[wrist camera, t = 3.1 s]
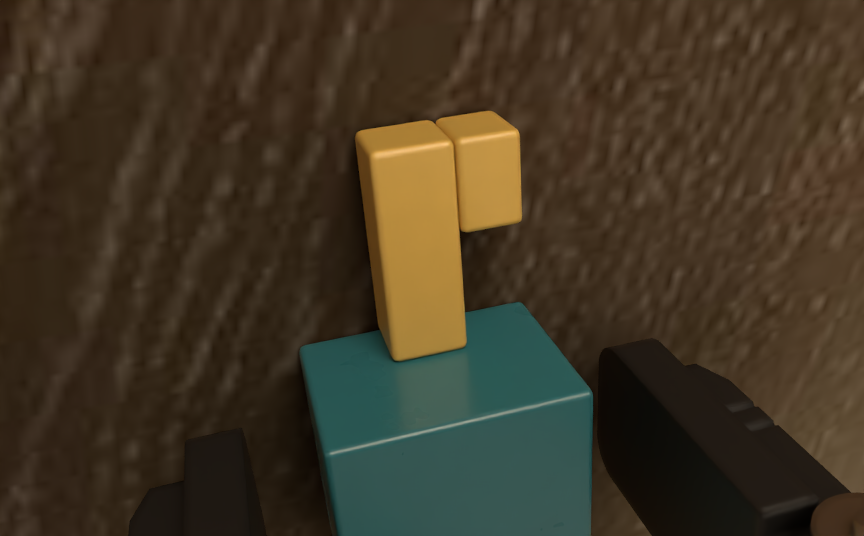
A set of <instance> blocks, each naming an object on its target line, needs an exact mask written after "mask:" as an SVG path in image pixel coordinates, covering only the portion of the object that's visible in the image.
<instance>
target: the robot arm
mask: <svg viewBox="0 0 864 536" xmlns="http://www.w3.org/2000/svg"><path fill="white" fill-rule="evenodd" d="M597 437H598V444H599V449H600V453H601V457H602V460H603V463H604V465H605V467H606V470H607V472H608V473H609V475H610V477H611V478H612V480H613V481H614V483H615V484H616V485H617V487H618V488H619V490H620V491H621V493H622V494H623V495H624V497H625V498H626V500H627V501H628V502H629V504H630V505H631V507H632V508H633V510H634V511H635V512H636V514H637V515H638V517H639V518H640V519H641V521H642V522H643V524H644V525H645V527H646V528H647V529H648V531H649V532H650V534H651V535H652V536H864V493H851V492H850V491H849V490H848V489H847V488H846V487H845V486H844V485H842V484H841V483H840V482H839V481H838V480H837V479H836V478H835V477H834V476H833V475H832V474H831V473H829V472H828V471H827V470H826V469H825V468H824V467H823V466H822V465H821V464H820V463H819V462H818V461H816V460H815V459H814V458H813V457H812V456H811V455H810V454H809V453H808V452H807V451H806V450H805V449H803V448H802V447H801V446H800V445H799V444H798V443H797V442H796V441H795V440H794V439H793V438H792V437H790V436H789V435H788V434H787V433H786V432H785V431H784V430H783V429H782V428H781V427H780V426H779V425H777V426H775V425H774V423H773V420H772V419H771V418H770V417H769V416H768V415H767V414H766V413H764V412H763V411H762V410H761V409H760V408H759V407H754V405H753V401H751V400H750V399H749V398H748V397H747V396H746V395H745V394H744V393H743V392H742V391H741V390H740V389H738V388H737V387H736V386H735V385H734V384H733V383H732V382H731V381H730V380H728V379H726V378H724V377H722V376H720V375H718V374H716V373H714V372H712V371H710V370H708V369H705V368H703V367H701V366H699V365H697V364H692V365H688V366H684V365H683V364H682V363H681V362H680V361H679V360H678V359H677V358H676V357H675V356H674V355H673V354H672V353H671V352H670V351H669V350H668V349H667V348H665V347H664V346H663V345H662V344H661V343H660V342H659V341H658V340H656V339H653V338H650V339H646V340H641V341H637V342H632V343H628V344H623V345H619V346H614V347H610V348H605V349H603V350H602V352H601V354H600V357H599V373H598V424H597ZM128 536H267V535H266V530H265V525H264V520H263V515H262V510H261V506H260V502H259V497H258V493H257V488H256V484H255V480H254V475H253V471H252V466H251V462H250V458H249V453H248V449H247V444H246V440H245V436H244V433H243V430H242V428H239V429H234V430H230V431H225V432H221V433H216V434H212V435H207V436H203V437H198V438H194V439H189V440H186V442H185V471H184V481H181V482H176V483H172V484H168V485H163V486H159V487H155V488H150V489H149V491H148V492H147V494H146V495H145V497H144V499H143V500H142V502H141V504H140V505H139V507H138V509H137V510H136V512H135V513H134V515H133V517H132V518H131V520H130V524H129V534H128Z"/></svg>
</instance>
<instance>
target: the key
mask: <svg viewBox="0 0 864 536" xmlns="http://www.w3.org/2000/svg"><path fill="white" fill-rule="evenodd" d="M355 143H356V151H357V159H358V167H359V175H360V183H361V191H362V199H363V207H364V216H365V224H366V232H367V240H368V248H369V256H370V264H371V272H372V280H373V288H374V296H375V304H376V312H377V320H378V326H379V328H380V330H377V331H372V332H367V333H362V334H357V335H352V336H348V337H343V338H338V339H333V340H328V341H323V342H318V343H313V344H308V345H304V346H302V347H301V348H300V352H299V355H300V361H301V367H302V372H303V378H304V383H305V389H306V395H307V400H308V406H309V411H310V417H311V422H312V428H313V434H314V439H315V445H316V450H317V456H318V462H319V467H320V473H321V478H322V484H323V489H324V495H325V501H326V506H327V512H328V517H329V523H330V527H331V532H332V536H591V494H592V433H593V393H592V391H591V389H590V388H589V387H588V385H587V384H586V383H585V382H584V380H583V379H582V378H581V376H580V375H579V374H578V373H577V371H576V370H575V369H574V368H573V366H572V365H571V364H570V363H569V361H568V360H567V359H566V357H565V356H564V355H563V354H562V352H561V351H560V350H559V349H558V347H557V346H556V345H555V344H554V342H553V341H552V340H551V338H550V337H549V336H548V335H547V333H546V332H545V331H544V330H543V328H542V327H541V326H540V325H539V323H538V322H537V321H536V319H535V318H534V317H533V316H532V314H531V313H530V312H529V311H528V309H527V308H526V307H525V306H524V304H523V303H521V302H514V303H509V304H504V305H499V306H494V307H489V308H485V309H480V310H475V311H470V312H465V306H464V291H463V276H462V261H461V246H460V231H459V228H460V230H461V231H463V232H472V231H478V230H483V229H489V228H494V227H500V226H505V225H510V224H516V223H518V222H520V221H521V218H522V200H521V165H520V134H519V132H518V130H517V129H516V128H515V127H513V126H512V125H511V124H509V123H508V122H507V121H505V120H504V119H503V118H501V117H500V116H499V115H497V114H496V113H495V112H492V111H484V112H477V113H471V114H464V115H458V116H451V117H445V118H440V119H438V120H436V124H434V123H433V122H432V121H428V120H425V121H418V122H412V123H405V124H399V125H392V126H386V127H379V128H372V129H366V130H361V131H359V132H357V133H356V137H355Z"/></svg>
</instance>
